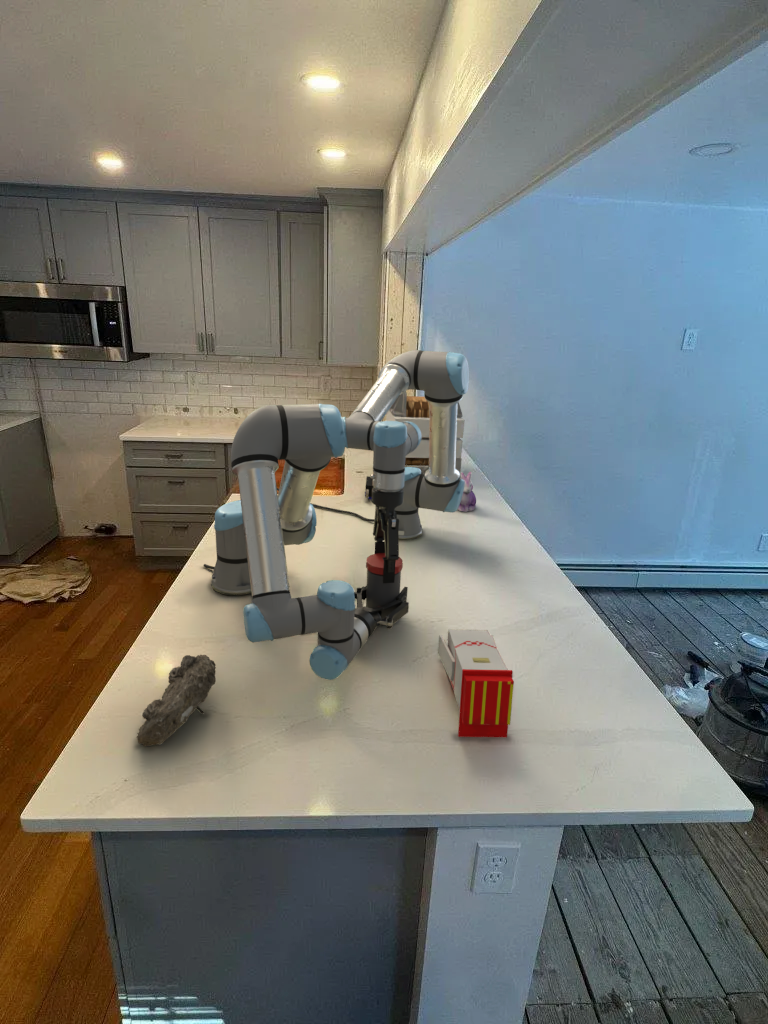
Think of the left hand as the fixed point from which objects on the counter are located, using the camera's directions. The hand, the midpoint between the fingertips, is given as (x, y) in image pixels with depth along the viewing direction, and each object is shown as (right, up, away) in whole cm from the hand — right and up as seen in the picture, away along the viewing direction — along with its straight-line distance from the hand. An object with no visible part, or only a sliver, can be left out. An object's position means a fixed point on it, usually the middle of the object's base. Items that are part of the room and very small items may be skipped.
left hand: (389, 587), depth 148 cm
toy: (+17, -18, -29) cm, 38 cm away
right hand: (-1, +4, -6) cm, 8 cm away
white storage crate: (+16, +39, +127) cm, 134 cm away
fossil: (-40, -19, -39) cm, 59 cm away
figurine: (+31, +21, +81) cm, 89 cm away
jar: (-2, -7, -2) cm, 8 cm away
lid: (-1, +7, -7) cm, 11 cm away
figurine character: (-6, +26, +88) cm, 92 cm away
